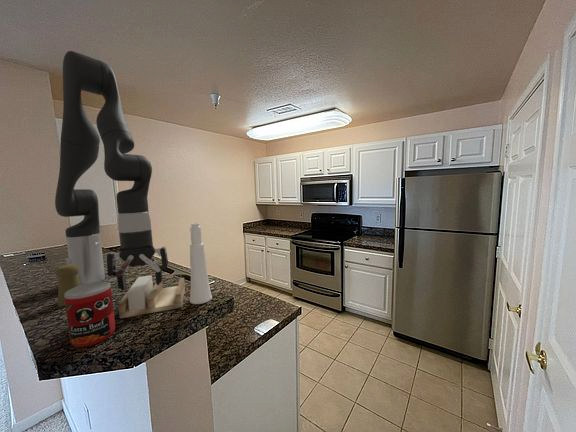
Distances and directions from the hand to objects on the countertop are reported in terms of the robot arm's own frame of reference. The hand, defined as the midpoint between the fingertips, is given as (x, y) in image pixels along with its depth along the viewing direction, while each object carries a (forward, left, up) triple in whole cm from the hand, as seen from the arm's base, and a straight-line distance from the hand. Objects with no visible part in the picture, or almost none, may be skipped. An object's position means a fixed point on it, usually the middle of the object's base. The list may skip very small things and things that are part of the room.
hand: (141, 286), depth 68 cm
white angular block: (0, 0, -4) cm, 4 cm away
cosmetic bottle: (+15, -4, -5) cm, 17 cm away
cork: (-21, +11, -5) cm, 24 cm away
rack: (+3, 0, -5) cm, 6 cm away
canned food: (-7, -14, -5) cm, 16 cm away
